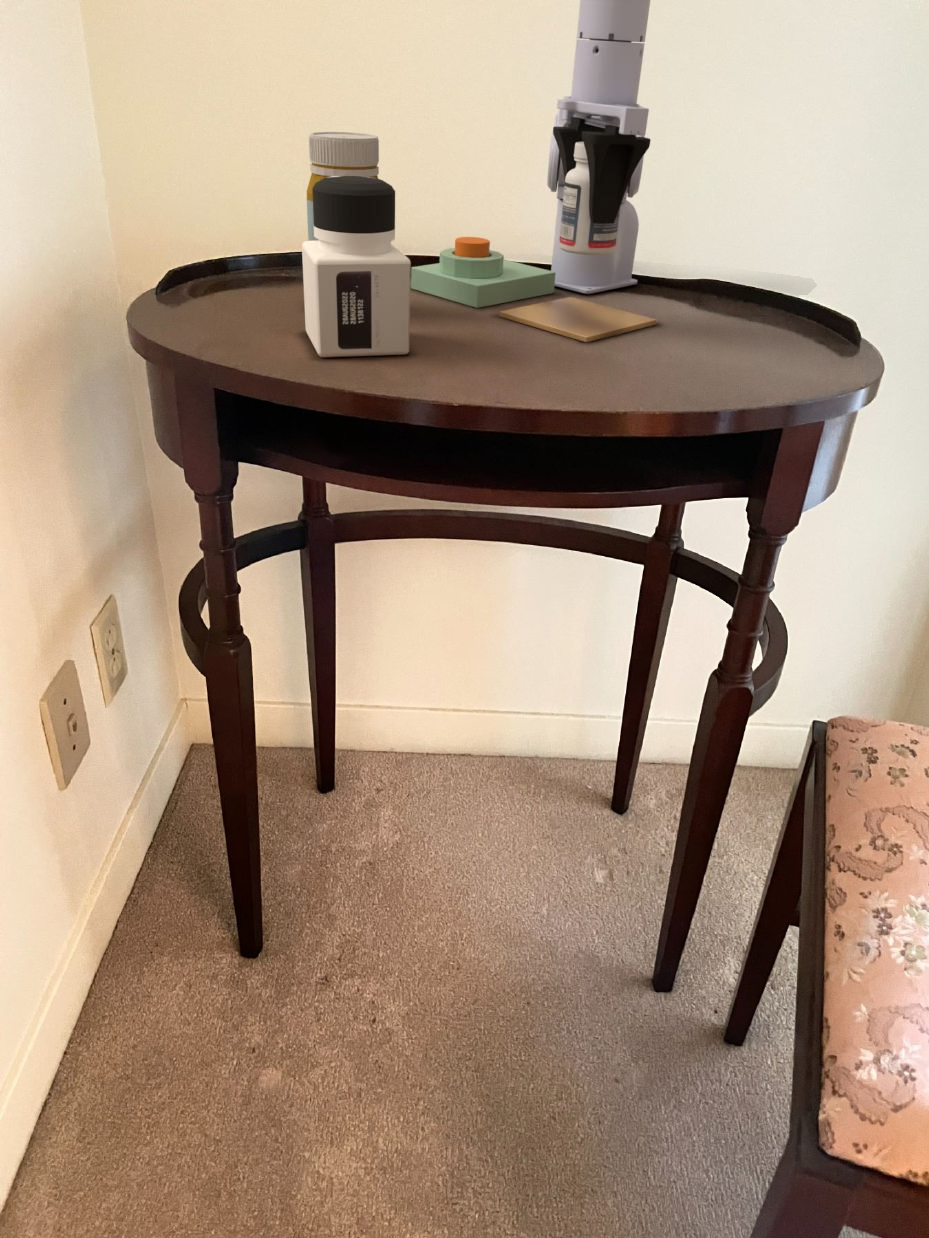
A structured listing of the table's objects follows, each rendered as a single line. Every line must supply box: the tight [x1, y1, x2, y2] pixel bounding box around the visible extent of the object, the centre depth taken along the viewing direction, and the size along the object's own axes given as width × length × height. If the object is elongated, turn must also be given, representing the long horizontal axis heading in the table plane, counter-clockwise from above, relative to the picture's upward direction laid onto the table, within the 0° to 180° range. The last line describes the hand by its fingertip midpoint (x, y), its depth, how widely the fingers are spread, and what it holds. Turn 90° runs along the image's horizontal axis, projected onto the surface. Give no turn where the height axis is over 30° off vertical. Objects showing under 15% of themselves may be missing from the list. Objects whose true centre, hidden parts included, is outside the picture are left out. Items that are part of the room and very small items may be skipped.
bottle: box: [306, 131, 380, 241], centre depth 83 cm, size 7×7×15 cm
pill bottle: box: [559, 142, 620, 255], centre depth 81 cm, size 5×5×9 cm
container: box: [301, 176, 412, 358], centre depth 74 cm, size 8×8×13 cm
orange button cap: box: [454, 236, 491, 258], centre depth 93 cm, size 4×4×2 cm
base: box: [410, 247, 556, 309], centre depth 96 cm, size 12×10×4 cm
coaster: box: [498, 296, 657, 343], centre depth 88 cm, size 11×11×1 cm
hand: (590, 217), depth 82 cm, fingers closed on pill bottle, 5 cm apart
